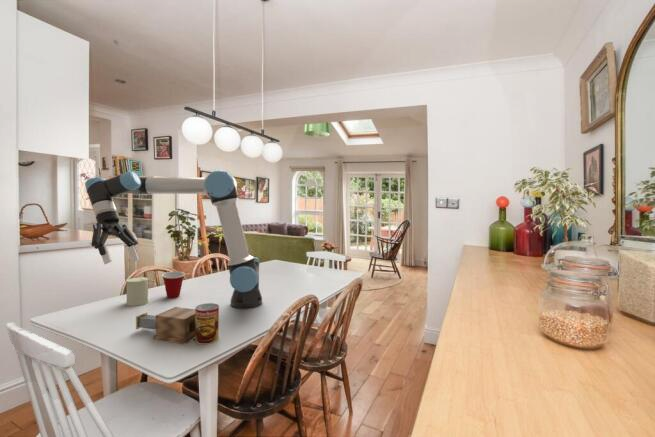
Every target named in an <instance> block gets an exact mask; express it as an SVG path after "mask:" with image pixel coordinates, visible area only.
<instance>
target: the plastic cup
mask: <svg viewBox="0 0 655 437" xmlns="http://www.w3.org/2000/svg"><path fill="white" fill-rule="evenodd" d="M185 275H186V274H185V272H183V271H169V272H168V271H167V272H164V273H162V274H161V277H162V280H163V281H164V282H163V284H164V289H165V293H166V297H167V298H168V299H175V298H178V297H180V295H181V290H182V285H183V280H184V278H185Z"/></svg>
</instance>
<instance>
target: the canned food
mask: <svg viewBox="0 0 655 437" xmlns="http://www.w3.org/2000/svg"><path fill="white" fill-rule="evenodd" d="M194 309H195V338H194V341H195V343H197V344H199V345H208V344H213V343H215V342H217V341H218V340H219V332H220V331H219V329H220V328H219V327H220V325H219V322H220V321H219V320H220V319H219V316H220V313H219V312H220V305H219V304H218V303H214V302H211V303H210V302H208V303H202V304H198V305H197V306H195V308H194Z"/></svg>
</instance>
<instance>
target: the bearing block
mask: <svg viewBox="0 0 655 437" xmlns="http://www.w3.org/2000/svg"><path fill="white" fill-rule="evenodd" d="M155 316H156V330H155V333H154V334H153V337H152V338H153V339H152V340H156V341H163V342H170V343H176V344H183V345H186V344H188V342H190V341H191V340H195V308H187V307H180V306H178V307H177V306H174V307H172V308H170V309H168V310H165V311H163V312H161V313H158V314H155ZM190 323H191V330H190V331H189V329H190Z"/></svg>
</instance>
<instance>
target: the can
mask: <svg viewBox="0 0 655 437" xmlns="http://www.w3.org/2000/svg"><path fill="white" fill-rule="evenodd" d="M125 281H126V302H125V303H126V306H129V307H138V306H143V305H146V304H148V303H149V277H132V278H128V279H126V280H125Z"/></svg>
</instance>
